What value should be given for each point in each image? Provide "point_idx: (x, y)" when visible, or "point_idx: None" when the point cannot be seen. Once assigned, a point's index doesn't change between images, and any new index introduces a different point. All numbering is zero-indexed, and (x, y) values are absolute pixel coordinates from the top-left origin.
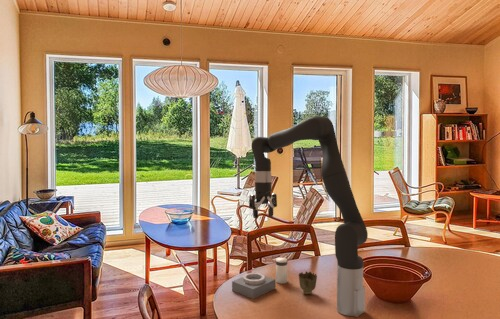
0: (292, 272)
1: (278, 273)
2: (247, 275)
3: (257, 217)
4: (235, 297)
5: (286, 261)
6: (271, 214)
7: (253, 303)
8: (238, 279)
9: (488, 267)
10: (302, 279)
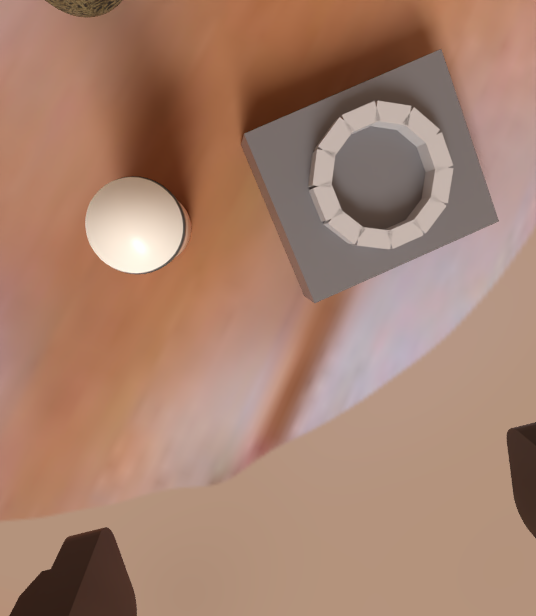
0: (19, 332)
1: (182, 207)
2: (406, 222)
3: (533, 424)
4: (488, 131)
5: (109, 184)
6: (92, 562)
7: (438, 17)
8: (454, 231)
9: None
10: None
